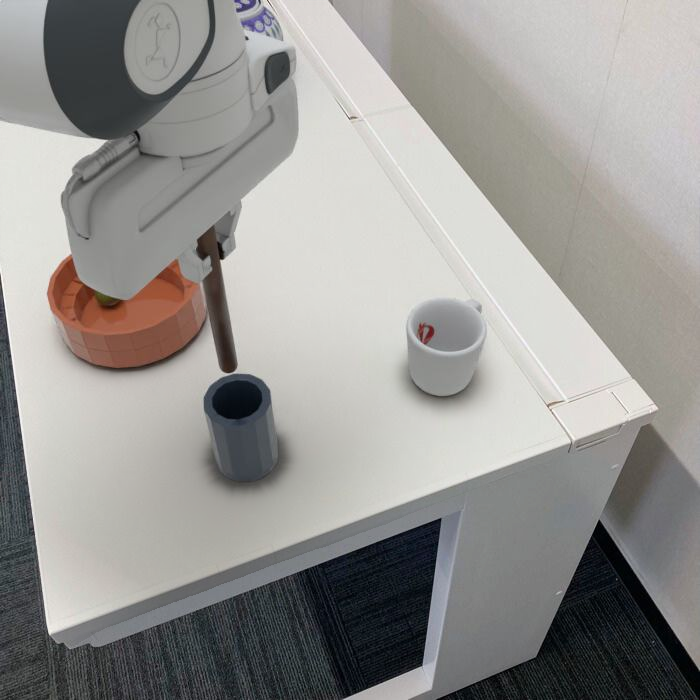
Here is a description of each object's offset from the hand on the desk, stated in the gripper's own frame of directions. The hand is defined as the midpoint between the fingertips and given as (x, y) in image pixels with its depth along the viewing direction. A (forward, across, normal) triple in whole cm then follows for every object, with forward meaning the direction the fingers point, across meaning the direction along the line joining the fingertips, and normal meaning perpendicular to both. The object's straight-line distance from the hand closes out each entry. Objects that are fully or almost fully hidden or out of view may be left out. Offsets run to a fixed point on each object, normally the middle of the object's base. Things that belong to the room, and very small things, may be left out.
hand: (209, 263), depth 57 cm
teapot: (+25, +58, +43) cm, 76 cm away
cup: (+25, +20, -12) cm, 34 cm away
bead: (+22, +9, +25) cm, 35 cm away
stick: (+12, 0, 0) cm, 12 cm away
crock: (+25, 0, 0) cm, 25 cm away
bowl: (+25, +9, +22) cm, 34 cm away
